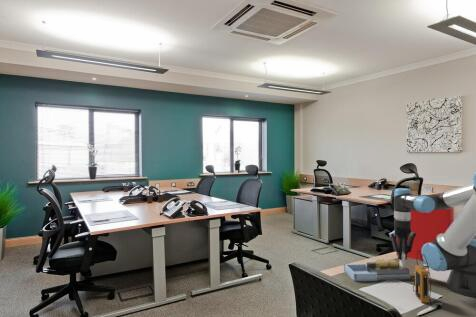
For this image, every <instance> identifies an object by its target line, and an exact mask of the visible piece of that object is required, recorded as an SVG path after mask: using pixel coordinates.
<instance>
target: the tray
mask: <svg viewBox="0 0 476 317" xmlns="http://www.w3.org/2000/svg"><path fill="white" fill-rule="evenodd" d="M366 266H367V263H350V264H349V263H345V264H343V271H344V273H345V274H346V275H348V276H349V277H350V279H352V280H353V281H354V282H374V281H375V282H376V281H378V280H377V273H369V272H368V271H367V270H366Z"/></svg>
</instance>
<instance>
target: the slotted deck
mask: <svg viewBox="0 0 476 317" xmlns="http://www.w3.org/2000/svg"><path fill="white" fill-rule="evenodd" d="M366 270H367V271H368V272H369V273H377V281H390V280H391V281H393V280H395V281H397V280H399V281H401V280H411V273H410V272H411V271H410V268H408V267H401V266H400V265H399V262H398V268H390V269H376V261H375V262H374V261H373V262H366Z"/></svg>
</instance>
